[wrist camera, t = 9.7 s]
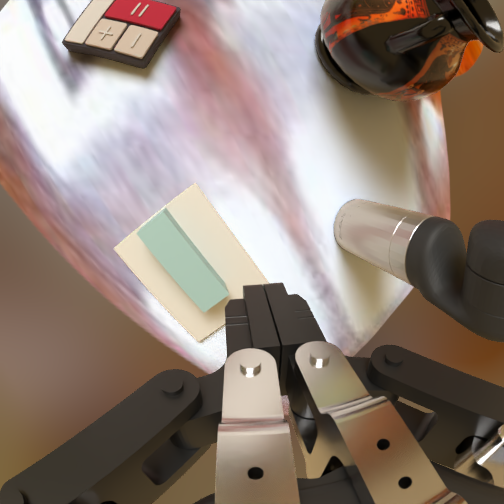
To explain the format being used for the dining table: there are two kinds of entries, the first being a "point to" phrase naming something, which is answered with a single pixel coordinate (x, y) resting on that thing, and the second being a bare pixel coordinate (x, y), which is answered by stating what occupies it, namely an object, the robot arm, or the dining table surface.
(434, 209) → the dining table surface
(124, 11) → the calculator
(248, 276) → the mat
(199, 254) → the block
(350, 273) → the dining table surface
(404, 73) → the amphora vase
